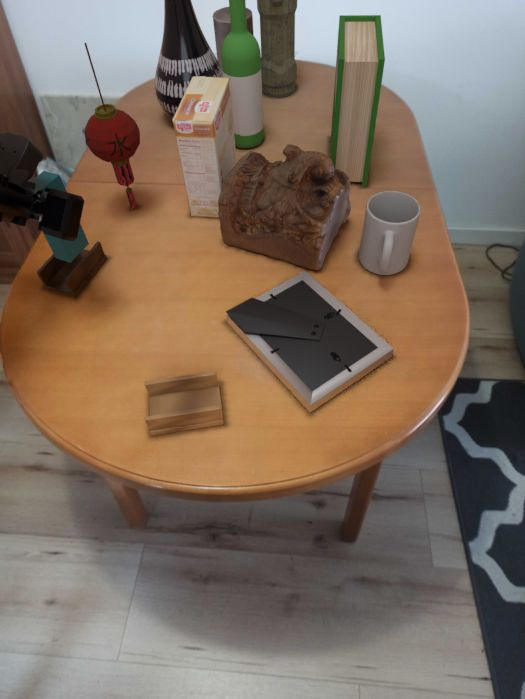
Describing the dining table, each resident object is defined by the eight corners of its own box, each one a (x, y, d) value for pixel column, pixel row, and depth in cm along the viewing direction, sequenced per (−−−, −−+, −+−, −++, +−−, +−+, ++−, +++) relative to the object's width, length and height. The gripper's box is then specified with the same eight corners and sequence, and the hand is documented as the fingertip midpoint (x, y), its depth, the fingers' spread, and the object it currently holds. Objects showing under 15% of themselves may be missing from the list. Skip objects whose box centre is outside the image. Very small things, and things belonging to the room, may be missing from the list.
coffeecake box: (206, 171, 106) (191, 75, 91) (239, 172, 105) (230, 76, 90) (189, 216, 97) (170, 119, 82) (225, 219, 97) (213, 120, 81)
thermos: (263, 102, 122) (255, -83, 94) (258, 79, 129) (250, -100, 102) (299, 99, 123) (302, -87, 95) (292, 76, 130) (293, -104, 102)
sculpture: (311, 279, 82) (205, 244, 87) (340, 266, 98) (249, 237, 104) (344, 156, 75) (226, 128, 81) (370, 164, 91) (270, 140, 97)
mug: (360, 239, 91) (368, 187, 83) (409, 244, 90) (422, 192, 81) (353, 287, 84) (361, 236, 76) (406, 293, 83) (420, 242, 74)
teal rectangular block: (70, 263, 81) (36, 193, 71) (55, 258, 82) (20, 189, 72) (89, 243, 84) (59, 174, 74) (75, 239, 85) (43, 170, 75)
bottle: (241, 128, 116) (229, -29, 92) (270, 136, 113) (266, -23, 89) (222, 144, 112) (204, -15, 88) (252, 154, 109) (242, -8, 85)
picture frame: (227, 323, 81) (310, 413, 70) (225, 311, 79) (310, 402, 68) (304, 279, 86) (391, 357, 76) (304, 267, 84) (395, 345, 73)
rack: (76, 297, 86) (68, 281, 82) (44, 288, 87) (35, 272, 84) (107, 259, 91) (101, 242, 88) (76, 251, 93) (69, 234, 90)
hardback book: (366, 186, 101) (384, 59, 82) (329, 186, 101) (338, 59, 82) (364, 138, 111) (380, 15, 92) (330, 137, 112) (339, 15, 93)
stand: (151, 435, 69) (144, 421, 66) (150, 395, 73) (144, 380, 70) (223, 424, 70) (220, 410, 67) (219, 385, 74) (216, 369, 71)
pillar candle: (259, 66, 134) (257, 0, 122) (249, 83, 128) (245, 17, 116) (225, 62, 136) (219, -2, 124) (213, 80, 130) (205, 14, 118)
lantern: (164, 214, 98) (123, 48, 74) (116, 229, 96) (59, 63, 72) (150, 188, 103) (108, 25, 79) (105, 201, 101) (48, 38, 77)
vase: (162, 103, 124) (132, -44, 101) (226, 97, 125) (212, -50, 101) (161, 138, 115) (128, -15, 91) (230, 132, 115) (216, -22, 91)
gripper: (48, 142, 60) (124, 173, 75) (-67, 114, 65) (25, 148, 80) (31, 235, 62) (108, 247, 77) (-79, 200, 67) (13, 218, 82)
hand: (62, 212), depth 79 cm, fingers closed on teal rectangular block, 3 cm apart
